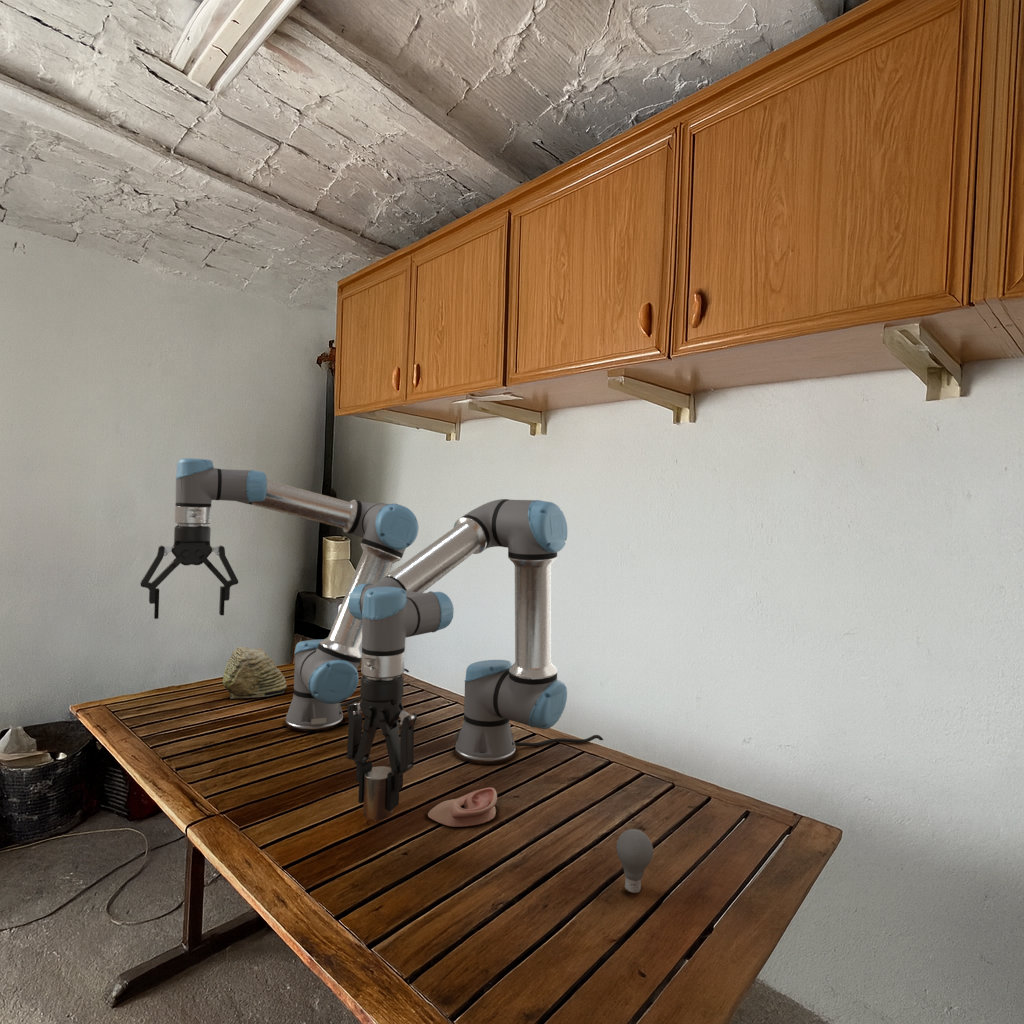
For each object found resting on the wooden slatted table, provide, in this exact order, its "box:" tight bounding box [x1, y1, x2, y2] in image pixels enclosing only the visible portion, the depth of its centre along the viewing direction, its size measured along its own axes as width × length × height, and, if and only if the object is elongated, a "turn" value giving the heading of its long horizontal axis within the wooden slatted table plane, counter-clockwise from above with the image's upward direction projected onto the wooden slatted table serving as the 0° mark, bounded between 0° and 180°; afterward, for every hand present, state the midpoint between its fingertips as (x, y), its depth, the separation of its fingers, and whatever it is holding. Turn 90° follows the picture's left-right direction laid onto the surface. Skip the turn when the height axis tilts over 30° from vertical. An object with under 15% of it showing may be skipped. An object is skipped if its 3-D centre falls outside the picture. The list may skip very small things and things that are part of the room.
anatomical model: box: [427, 787, 498, 828], centre depth 129 cm, size 13×4×12 cm
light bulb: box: [615, 828, 654, 894], centre depth 106 cm, size 6×6×10 cm
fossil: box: [222, 646, 288, 699], centre depth 198 cm, size 9×18×15 cm, turn 132°
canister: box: [362, 765, 394, 821], centre depth 113 cm, size 5×5×7 cm
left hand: (189, 616), depth 148 cm, fingers open, 13 cm apart
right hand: (378, 803), depth 113 cm, fingers closed on canister, 5 cm apart
